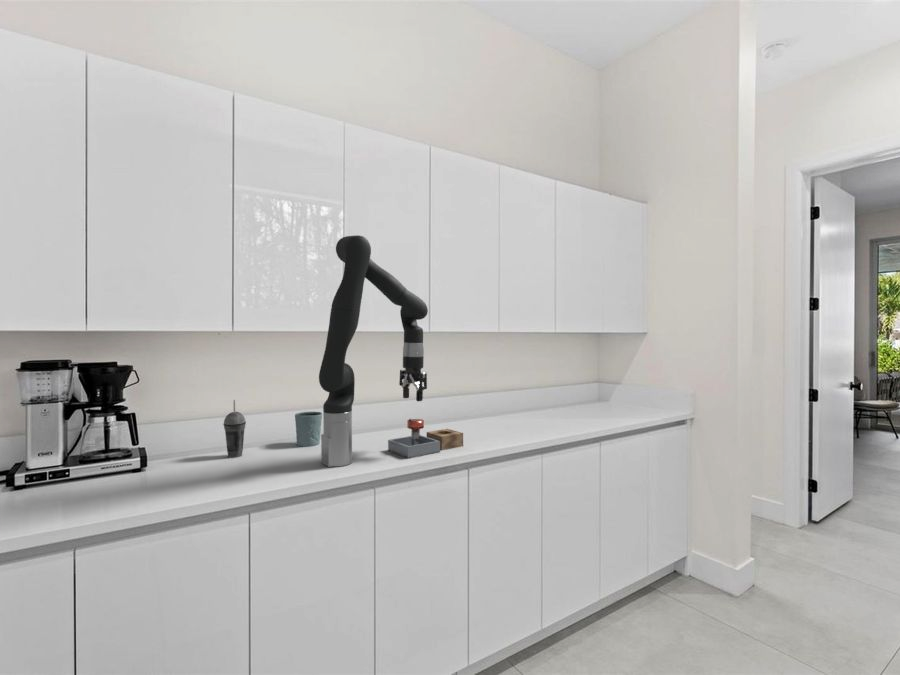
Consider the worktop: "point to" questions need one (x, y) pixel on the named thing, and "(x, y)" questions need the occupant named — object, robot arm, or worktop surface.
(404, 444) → the tray
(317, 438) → the teal tapered cylinder
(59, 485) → the worktop surface
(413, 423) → the pin
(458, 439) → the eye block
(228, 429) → the beverage cup
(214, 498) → the worktop surface
